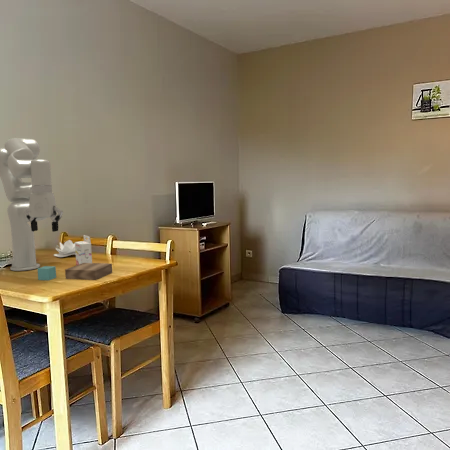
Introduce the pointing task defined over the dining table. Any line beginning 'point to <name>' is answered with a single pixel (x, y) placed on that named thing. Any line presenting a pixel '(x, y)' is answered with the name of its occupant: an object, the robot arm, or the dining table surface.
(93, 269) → the walnut base block
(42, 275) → the teal cube
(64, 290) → the dining table surface
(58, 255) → the lotus flower
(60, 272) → the dining table surface
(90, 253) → the ink cartridge box
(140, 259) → the dining table surface
